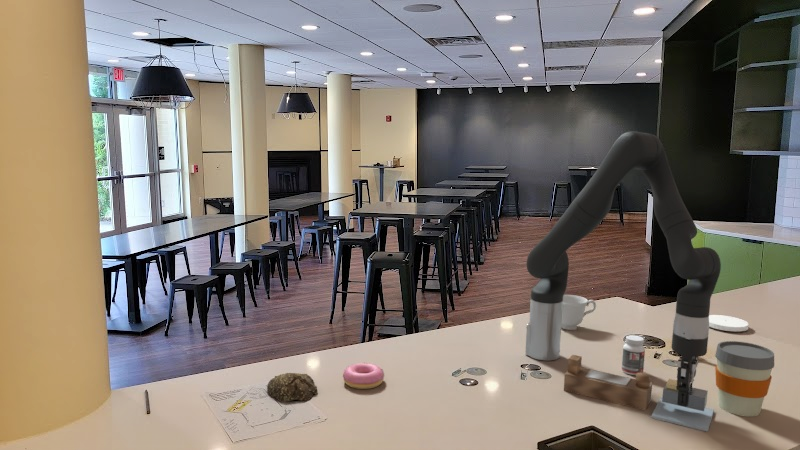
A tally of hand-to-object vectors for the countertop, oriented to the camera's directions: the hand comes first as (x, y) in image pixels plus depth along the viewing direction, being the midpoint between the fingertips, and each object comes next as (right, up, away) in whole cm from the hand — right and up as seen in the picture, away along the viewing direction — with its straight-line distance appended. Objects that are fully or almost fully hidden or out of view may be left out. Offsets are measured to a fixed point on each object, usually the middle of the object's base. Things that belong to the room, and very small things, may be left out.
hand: (684, 401), depth 147 cm
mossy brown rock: (-94, -1, +10) cm, 95 cm away
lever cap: (0, 0, 0) cm, 0 cm away
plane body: (-15, -2, +11) cm, 18 cm away
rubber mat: (0, -3, +1) cm, 3 cm away
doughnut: (-77, 0, +16) cm, 79 cm away
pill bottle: (-2, 0, +27) cm, 27 cm away
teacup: (-8, +6, +65) cm, 66 cm away
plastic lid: (+46, +6, +69) cm, 83 cm away
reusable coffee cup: (+16, -3, +5) cm, 17 cm away
